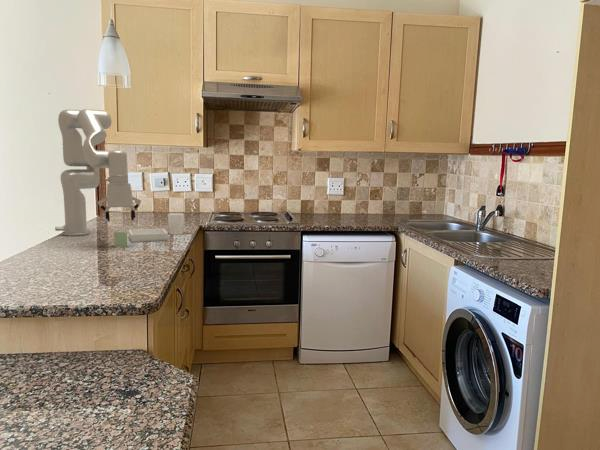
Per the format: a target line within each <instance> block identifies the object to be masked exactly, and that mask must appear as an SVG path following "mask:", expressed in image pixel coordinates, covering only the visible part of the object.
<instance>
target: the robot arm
mask: <svg viewBox="0 0 600 450" xmlns="http://www.w3.org/2000/svg"><path fill="white" fill-rule="evenodd" d="M57 121H58V127H59V131H60V133H61V137H62V156H63V157H62V158H63V163H64V164H65V165H66V166H69V167H86V169H84V168H82V169H80V168H76V169H75V168H73V169H65V170H63V171H62V172H61V174H60V183H61V188H62V194H63V205H64V206H63V207H64V225H62V226H55V228H54V229H55V231H56V232H57V231H58V232H60V231H62V232H61V235H63V236H66V235H67V237H71V236H72V237H73V236H74V237H77V236H78V237H79V236H86V235H90V234H91V230H90V229H88V226H87V223H88V222H87V206H86V205H87V204H86V203H87V202H86V196H85V195H84V193H83V192H82V191H81V190H85V189H86V190H87V189H89V190H90V189H95V188H97V187H99V184H100V169H108V177H105V178H104V179H105V180H104V181H105V182H108V183H107V186H106V197H103V198H102V199H101V200H98V201H97V204H98V206H99V207H100V208H101V209H102V210H103V211H104V213H105V220H107V222H110V220H111V219H110V209H111V208H129V209H131V211H130V220H131V221H134V219H135V218H136V212H135V211H136V210H137V209H138V208H139V207H140V204H141V203H142V200H141V199H138V198H137V197H134V196H133V191H132V186H131V183H130V182H129V176H128V175H129V172H128V155H127V152H126V151H125V150H97V149H96V148H94V147H95V146H97V145H99V144H102V143H104V141H105V140H106V138H107V132H106V130H108V129H110V127H112V117H111V115H110V114H109V112H108V111H106V110H101V109H90V108H85V109H63V110H61V111H60V112H59V114H58V119H57ZM78 129H81V130H82V132H83V134H84V136H85V139H84V141H83V137H82V135H81V133H80V132H79V131H78ZM105 202H106V205H107V206H106V207H105V206H104V204H103V203H105ZM133 202H136V203H135V205H133Z"/></svg>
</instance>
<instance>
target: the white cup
mask: <svg viewBox="0 0 600 450" xmlns="http://www.w3.org/2000/svg"><path fill="white" fill-rule="evenodd" d="M167 220H168V229H169V231H168V232H169V233H168V234H169V235H174V236H175V235H176V236H177V235H183V234H184V229H185V228H184V227H185V214H184V213H181V212H180V213H178V212H173V213H168V214H167Z"/></svg>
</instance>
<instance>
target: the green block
mask: <svg viewBox="0 0 600 450" xmlns="http://www.w3.org/2000/svg"><path fill="white" fill-rule="evenodd" d="M113 242H114V243H113V245H114V248H128V232H127V231H125V230H124V231H123V230H122V231H113Z"/></svg>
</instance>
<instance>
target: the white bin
mask: <svg viewBox="0 0 600 450" xmlns="http://www.w3.org/2000/svg"><path fill="white" fill-rule="evenodd" d="M128 238H129V241H130V242H131V243H147V242H149V243H151V242H165V241H167V242H168V241H169V233H168V232H167V231H166V230H165V229H164V228H159V227H158V228H141V229H140V228H139V229H137V228H136V229H128Z"/></svg>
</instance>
